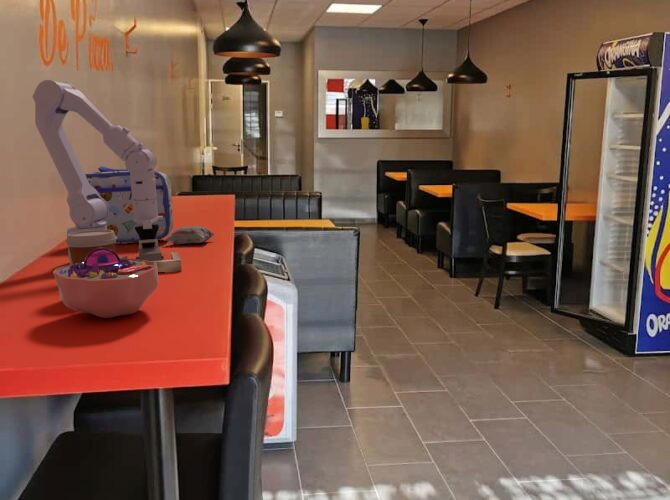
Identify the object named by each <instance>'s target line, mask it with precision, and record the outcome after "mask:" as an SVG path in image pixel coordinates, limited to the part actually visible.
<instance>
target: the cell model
mask: <svg viewBox="0 0 670 500" xmlns="http://www.w3.org/2000/svg"><path fill="white" fill-rule="evenodd" d="M52 273H53V277H54V279H55V281H56V284H57V289H58V293H59V298H60V299H61V300H60V301H61V303H63V305H64V306H65V307H66V308H69V309H71V310H73V311H75V312H79V313H87V314H91V315H94V316H96V317H98V318H103V319H110V318H116V317H121V316H126V315H132V314H134V313H137V312H138V311H140V309H141V308H142V307H143V305H144V304H145V303H146V301H147V300H148V298H149V297H151V295H152V294H153V293H154V292H155V291H156V290H157V288H158V287H159V283H160V282H159V279H160V278H159V273H158V268H157V263H156V262H151V261H146V260H141V259H136V258H128V259H121V257H119V255H118V253H117V252H116V251H115V252H114V251H112V250H110V249H108V248H97V249H94V250H93V251H91V252H90V253H89V254H88V255H87V256H86V258H85V260H84V262H81V263H77V264H72V265H70V264H67V265H63V266H59V267H58V268H56V269H54V270H53V272H52Z"/></svg>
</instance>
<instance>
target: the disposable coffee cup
mask: <svg viewBox="0 0 670 500" xmlns="http://www.w3.org/2000/svg"><path fill="white" fill-rule="evenodd" d="M116 239H117V237H116V236H115V233H114V231H113V230H88V231H79V232H73V233H70V234H68V235H67V234H66V240H65V244H66V246H67V247H68V246H69V250H70V255H71V259H72V263H73V264H77V263H81V262H84V260H85V258H86V256H87V255H88V254H89V253H90V252H91V251H93V250H94V249H97V248H108V249H110V250H112V251H114V252H116V249H115V248H116V244H115V242H116Z"/></svg>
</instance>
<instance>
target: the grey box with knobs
mask: <svg viewBox="0 0 670 500" xmlns="http://www.w3.org/2000/svg"><path fill="white" fill-rule="evenodd" d="M148 242H155V247H154V248H142V243H148ZM137 250H138V251H137V253H138V256H136V257H135V259H141V260H146V261H162V260H166V259H165V258H164V257H165V256H164V255H163V254H162V251H161V247H159V240H158V239H150V240H139V243H138V249H137Z"/></svg>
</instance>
